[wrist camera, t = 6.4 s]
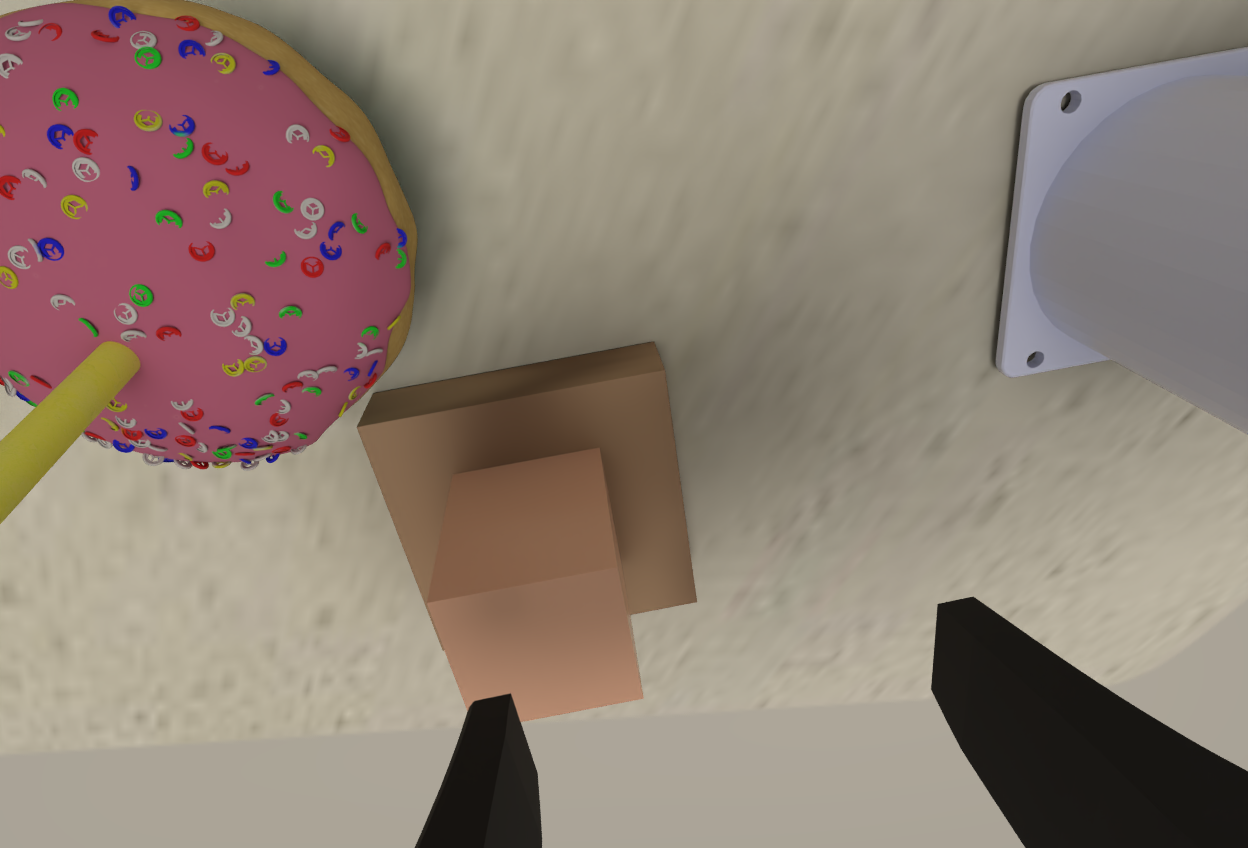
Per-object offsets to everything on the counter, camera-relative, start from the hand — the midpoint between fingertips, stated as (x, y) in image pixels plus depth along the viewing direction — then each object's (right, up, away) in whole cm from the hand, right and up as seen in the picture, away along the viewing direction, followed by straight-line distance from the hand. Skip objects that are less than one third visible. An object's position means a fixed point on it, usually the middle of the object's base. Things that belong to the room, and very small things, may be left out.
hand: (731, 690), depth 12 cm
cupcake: (-11, +10, +6) cm, 16 cm away
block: (-4, +2, +8) cm, 9 cm away
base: (-4, +3, +10) cm, 11 cm away
